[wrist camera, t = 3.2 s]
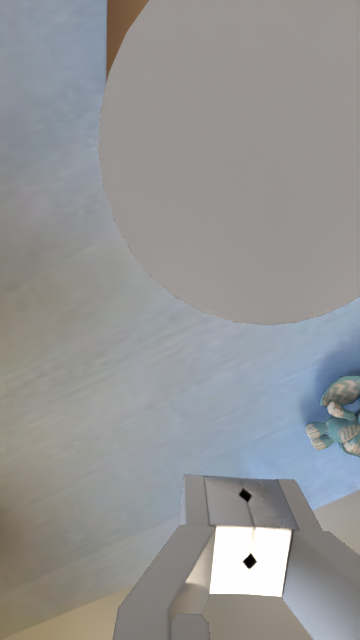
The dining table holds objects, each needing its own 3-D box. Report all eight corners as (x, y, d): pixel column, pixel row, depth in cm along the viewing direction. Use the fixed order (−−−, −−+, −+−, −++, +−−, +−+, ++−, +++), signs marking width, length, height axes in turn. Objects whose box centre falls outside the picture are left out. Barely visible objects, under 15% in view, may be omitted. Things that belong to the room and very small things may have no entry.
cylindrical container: (154, 203, 30) (57, -23, 6) (226, 189, 30) (456, -109, 5) (167, 276, 31) (139, 350, 7) (237, 263, 31) (455, 293, 7)
